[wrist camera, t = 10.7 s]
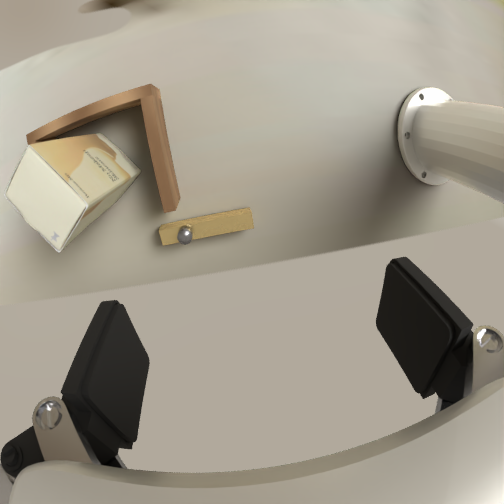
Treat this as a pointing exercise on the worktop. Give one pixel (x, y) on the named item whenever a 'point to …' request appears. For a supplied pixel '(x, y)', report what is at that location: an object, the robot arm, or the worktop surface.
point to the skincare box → (68, 184)
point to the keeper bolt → (206, 226)
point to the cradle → (153, 124)
